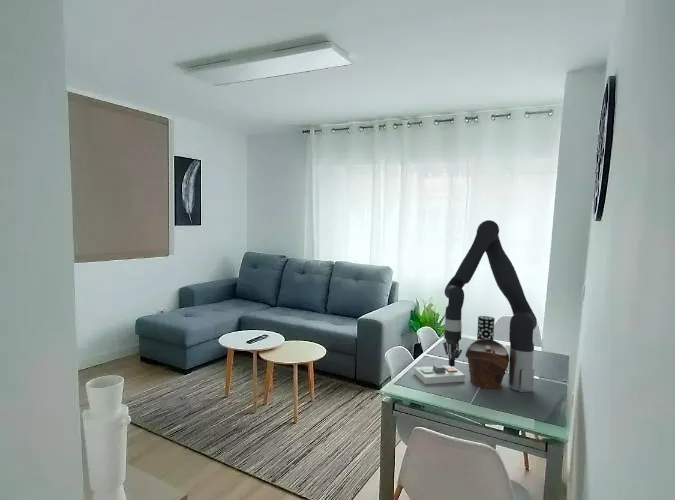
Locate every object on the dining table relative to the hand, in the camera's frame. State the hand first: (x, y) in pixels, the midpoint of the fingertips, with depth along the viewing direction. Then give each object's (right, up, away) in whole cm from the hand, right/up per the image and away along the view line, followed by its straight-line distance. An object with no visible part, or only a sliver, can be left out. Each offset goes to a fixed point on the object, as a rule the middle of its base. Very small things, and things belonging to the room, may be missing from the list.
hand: (451, 365), depth 179 cm
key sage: (-12, -4, -2) cm, 12 cm away
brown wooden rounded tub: (+14, -6, -6) cm, 16 cm away
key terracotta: (0, -4, +1) cm, 4 cm away
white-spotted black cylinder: (+28, -4, +35) cm, 45 cm away
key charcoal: (-6, -2, 0) cm, 6 cm away
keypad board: (-6, -5, 0) cm, 8 cm away
